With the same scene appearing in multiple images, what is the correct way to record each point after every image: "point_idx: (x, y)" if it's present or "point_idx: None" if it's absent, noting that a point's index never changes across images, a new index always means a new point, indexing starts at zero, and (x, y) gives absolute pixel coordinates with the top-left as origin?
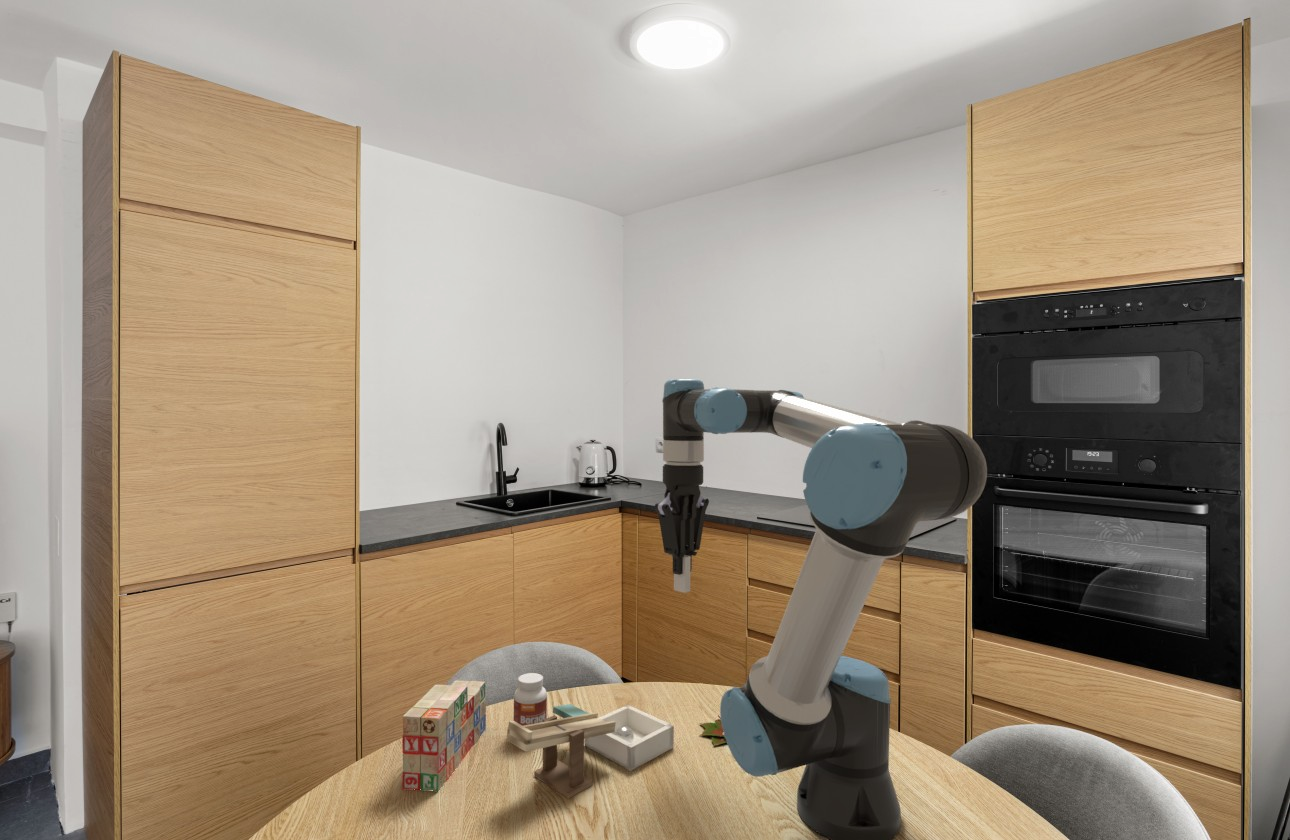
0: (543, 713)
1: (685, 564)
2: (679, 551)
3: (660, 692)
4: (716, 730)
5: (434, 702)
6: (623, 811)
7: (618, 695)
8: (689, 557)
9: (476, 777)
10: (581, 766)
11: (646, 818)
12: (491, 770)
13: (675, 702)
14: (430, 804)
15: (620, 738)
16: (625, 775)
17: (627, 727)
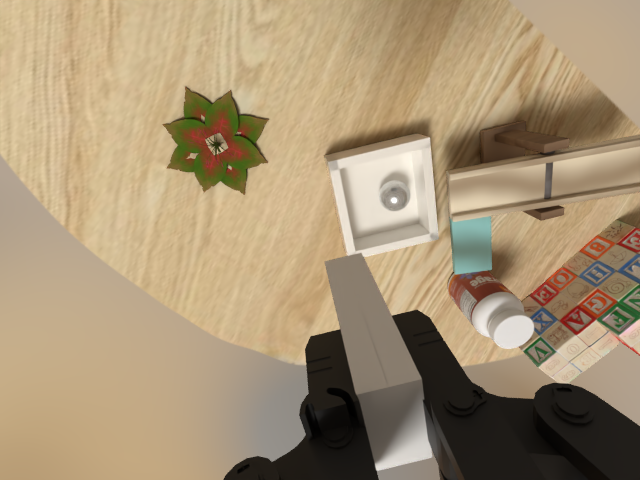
0: (478, 284)
1: (400, 340)
2: (504, 428)
3: (240, 309)
4: (233, 158)
5: None
6: (488, 46)
7: (303, 327)
8: (366, 384)
9: (569, 226)
10: (513, 136)
11: (475, 9)
12: (548, 231)
13: (237, 272)
14: (636, 200)
15: (425, 171)
16: (429, 127)
17: (394, 197)
